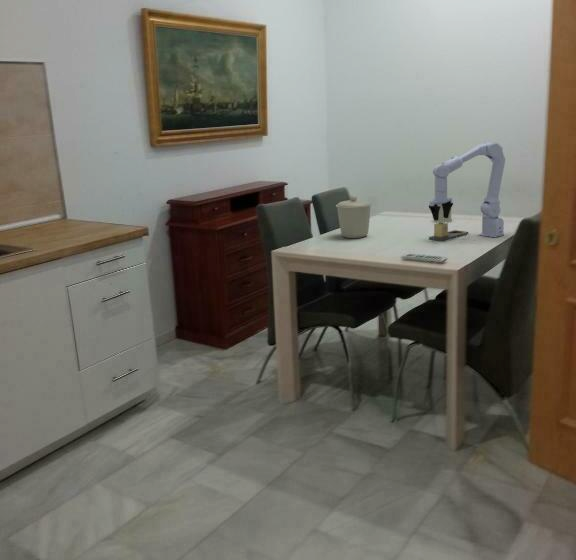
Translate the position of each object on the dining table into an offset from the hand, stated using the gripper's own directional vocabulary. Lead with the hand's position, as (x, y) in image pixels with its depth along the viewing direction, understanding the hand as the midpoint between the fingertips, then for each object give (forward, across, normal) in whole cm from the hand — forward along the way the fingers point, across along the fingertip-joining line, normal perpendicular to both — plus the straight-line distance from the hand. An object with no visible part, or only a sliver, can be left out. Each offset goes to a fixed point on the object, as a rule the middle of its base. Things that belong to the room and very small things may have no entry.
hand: (440, 219), depth 303 cm
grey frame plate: (+10, -6, 0) cm, 11 cm away
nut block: (+10, 0, 0) cm, 10 cm away
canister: (+10, +19, -40) cm, 45 cm away
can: (+10, -38, -28) cm, 49 cm away
